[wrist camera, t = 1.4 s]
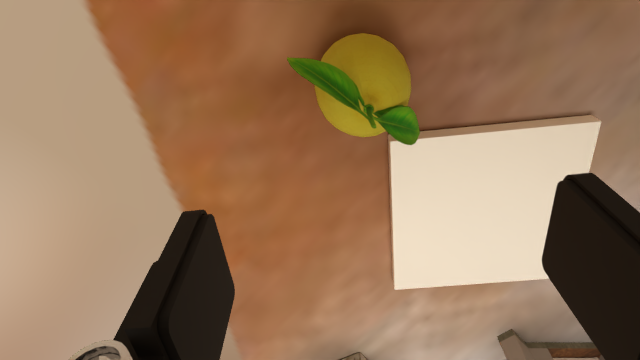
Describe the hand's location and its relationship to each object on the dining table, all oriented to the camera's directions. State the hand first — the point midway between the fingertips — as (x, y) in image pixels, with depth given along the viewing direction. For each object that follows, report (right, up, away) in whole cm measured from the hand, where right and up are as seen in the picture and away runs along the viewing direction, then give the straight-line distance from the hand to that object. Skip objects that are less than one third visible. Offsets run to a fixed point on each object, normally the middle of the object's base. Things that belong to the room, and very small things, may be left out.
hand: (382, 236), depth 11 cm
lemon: (+1, +9, +16) cm, 18 cm away
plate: (+11, -1, +21) cm, 24 cm away
